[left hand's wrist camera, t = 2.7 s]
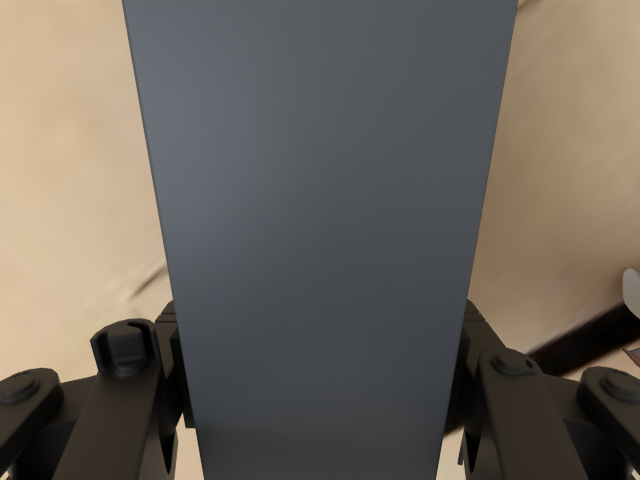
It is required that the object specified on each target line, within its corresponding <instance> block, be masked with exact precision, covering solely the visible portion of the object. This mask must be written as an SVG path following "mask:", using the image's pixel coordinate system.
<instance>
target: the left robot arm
mask: <svg viewBox="0 0 640 480" xmlns="http://www.w3.org/2000/svg"><path fill="white" fill-rule="evenodd" d="M90 343H91V346H92V350H93V354H94V357H95V361H96V364H97V368H98V373H97V375H95V376H91V377H87V378H83V379H78V380H73V381H69V382H64V383H61V382H60V379H59V376H58V374H57V373H56V372H55V371H54V370H52V369H48V368H37V369H29V370H26V371H22V372H19V373H16V374H14V375H12V376H10V377H8V378H6V379H4V380H2V381H0V478H1V477H2V476H3V474H4V473H5V472H6V471H8V474H9V476H8V477H7V479H6V480H174V477H175V467H176V458H177V448H178V438H177V432H176V426H177V424H178V422H179V419H180V417H181V415H182V412H183V416H184V422H185V427H186V428H195V423H194V417H193V411H192V406H191V400H190V394H189V388H188V382H187V377H186V371H185V365H184V359H183V353H182V348H181V342H180V336H179V330H178V324H177V318H176V313H175V307H174V301H173V300H172V301H171V302H169V303H168V304H167V306H166V307H165V308H164V310H163V311H162V312H161V315H159V316H158V318H157V319H156V320H155V323H153V322H151V321H150V320H146V319H142V318H138V319H127V320H123V321H118V322H116V323H113V324H111V325H108V326H106V327H104V328H103V329H101V330H100V331H98V332H97V333H96V334H95V335H94V336H93V337H92V338H91V339H90ZM457 411H458V413H459V415H460V417H461V420H462V422H463V424H464V432H463V437H462V442H461V447H460V452H459V457H458V465H462V464H463V459H464V466H465V476H466V480H636V479H635V478H634V476H633V475H632V471H633V469H635V470H636V472H637V473H638V474H639V475H640V379H638V378H636V377H634V376H632V375H630V374H628V373H626V372H623V371H619V370H617V369H613V368H608V367H601V366H596V367H589V368H587V369H586V370H585V371H583V374H582V376H581V379H580V382H579V381H574V380H569V379H565V378H560V377H555V376H551V375H547V374H544V373H543V372H542V370H541V369H540V367H539V366H538V365H537V363H536V362H535V361H533V360H532V359H531V358H529V357H528V356H527V355H525V354H522V353H520V352H518V351H516V350H513V349H509V348H506V347H505V345H504V344H503V343H502V341H501V340H500V339H499V337H498V336H497V335H496V333H495V332H494V331H493V329H492V328H491V327H490V325H489V324H488V323H487V322H485V319H484V317H483V316H482V315H481V314H479V311H478V309H477V308H476V307H475V306H474V304H473V303H472V302H471V301H470V300H468V299H467V301H466V307H465V312H464V318H463V324H462V330H461V336H460V342H459V347H458V353H457V359H456V365H455V371H454V376H453V382H452V388H451V394H450V400H449V405H448V411H447V417H446V423H445V428H454V427H455V422H456V416H457Z"/></svg>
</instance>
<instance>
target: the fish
mask: <svg viewBox="0 0 640 480" xmlns="http://www.w3.org/2000/svg"><path fill="white" fill-rule="evenodd" d="M623 298H624V302H625V304H626V305H627V307H628V308H629V310H630V311H631V312H632V313H633V314H635V315H636V316H637V317H638V318H639V319H640V273H639V272H638V271H636V270H635V269H632V268H630V269H627V270H625V272H624V273H623ZM622 350H623V351H624V352H625V353H626V354H627V355H628V356H629V357H630V358H631V359H632V360H633V361H634V363H635V364H636V365H637V366H638V367H640V348H638V349H635V350H631V351H629V350H626V349H624V348H623V349H622Z"/></svg>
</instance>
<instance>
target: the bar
mask: <svg viewBox="0 0 640 480" xmlns="http://www.w3.org/2000/svg"><path fill="white" fill-rule="evenodd" d="M517 4H518V0H122V5H123V11H124V16H125V22H126V28H127V34H128V40H129V45H130V51H131V57H132V63H133V69H134V74H135V80H136V86H137V92H138V98H139V103H140V109H141V115H142V121H143V127H144V133H145V138H146V144H147V150H148V156H149V162H150V167H151V173H152V179H153V185H154V191H155V196H156V202H157V208H158V214H159V220H160V225H161V231H162V237H163V243H164V249H165V255H166V260H167V266H168V272H169V278H170V284H171V289H172V295H173V301H174V307H175V313H176V318H177V324H178V330H179V336H180V342H181V348H182V353H183V359H184V365H185V371H186V377H187V382H188V388H189V394H190V400H191V406H192V411H193V417H194V423H195V429H196V435H197V440H198V446H199V452H200V458H201V464H202V470H203V475H204V480H436V475H437V469H438V464H439V458H440V452H441V446H442V440H443V435H444V429H445V423H446V417H447V411H448V405H449V400H450V394H451V388H452V382H453V376H454V371H455V365H456V359H457V353H458V347H459V342H460V336H461V330H462V324H463V318H464V312H465V307H466V301H467V295H468V289H469V283H470V278H471V272H472V266H473V260H474V254H475V249H476V243H477V237H478V231H479V225H480V219H481V214H482V208H483V202H484V196H485V190H486V185H487V179H488V173H489V167H490V161H491V156H492V150H493V144H494V138H495V132H496V127H497V121H498V115H499V109H500V103H501V97H502V92H503V86H504V80H505V74H506V68H507V63H508V57H509V51H510V45H511V39H512V34H513V28H514V22H515V16H516V10H517Z"/></svg>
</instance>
